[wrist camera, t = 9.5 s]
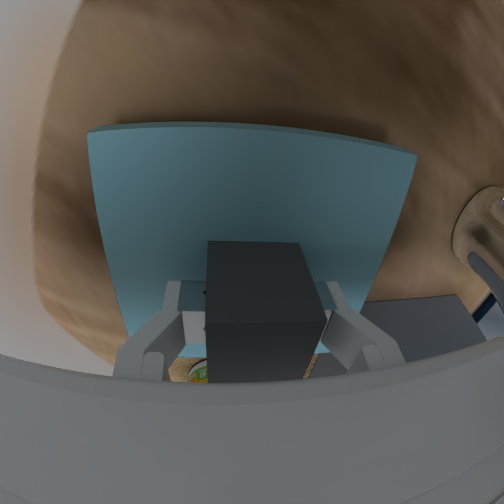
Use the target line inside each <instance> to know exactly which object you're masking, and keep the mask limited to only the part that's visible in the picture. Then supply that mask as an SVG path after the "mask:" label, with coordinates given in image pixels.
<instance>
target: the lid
mask: <svg viewBox="0 0 504 504" xmlns="http://www.w3.org/2000/svg"><path fill="white" fill-rule="evenodd" d="M87 143H88V154H89V163H90V171H91V179H92V186H93V193H94V199H95V205H96V211H97V216H98V222H99V227H100V232H101V237H102V241H103V246H104V250H105V255H106V259H107V263H108V267H109V271H110V275H111V279H112V282H113V286H114V290H115V293H116V297H117V300H118V304H119V307H120V310H121V313H122V317H123V320H124V323H125V326H126V329H127V332H128V335H129V338H130V337H131V336H132V335H133V334H134V333H135V332H136V331H137V330H138V329H140V328H141V327H142V326H143V325H144V324H145V323H146V322H147V321H148V320H149V319H150V318H151V317H152V316H153V315H154V314H156V313H157V312H158V311H162V309H163V303H164V297H165V292H166V286H167V282H168V280H193V281H206V303H205V335H206V344H186V346H185V347H184V348H183V350H182V351H181V352H180V354H179V355H178V356H177V357H202V358H207V376H208V383H247V382H270V381H285V380H298V379H302V378H303V376H304V374H305V372H306V370H307V368H308V365H309V363H310V361H311V359H312V357H313V354H317V353H328V352H330V351H329V350H328V349H327V348H326V347H325V346H324V345H323V344H322V343H321V341H320V338H321V336H322V333H323V331H324V329H325V326H326V324H327V321H328V319H327V317H326V314H325V311H324V308H323V305H322V303H321V300H320V297H319V295H318V292H317V289H316V287H315V284H314V281H337V282H338V284H339V286H340V288H341V290H342V293H343V295H344V297H345V299H346V301H347V303H348V306H349V308H350V309H354V310H355V311H357V312H358V313H359V312H360V310H361V308H362V306H363V304H364V302H365V300H366V297H367V295H368V293H369V291H370V289H371V286H372V284H373V282H374V280H375V277H376V275H377V273H378V270H379V268H380V265H381V263H382V261H383V258H384V256H385V253H386V251H387V248H388V245H389V243H390V240H391V238H392V235H393V232H394V230H395V227H396V224H397V221H398V219H399V216H400V213H401V210H402V207H403V204H404V201H405V198H406V195H407V192H408V189H409V185H410V182H411V179H412V176H413V172H414V169H415V165H416V162H417V158H418V155H416V154H415V153H413V152H411V151H410V150H408V149H406V148H404V147H400V146H396V145H391V144H387V143H382V142H378V141H373V140H368V139H363V138H358V137H352V136H347V135H341V134H335V133H329V132H322V131H315V130H308V129H300V128H291V127H282V126H272V125H260V124H246V123H228V122H147V123H130V124H116V125H105V126H97V127H95V128H94V129H92V130H90V131H89V132H87Z"/></svg>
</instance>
